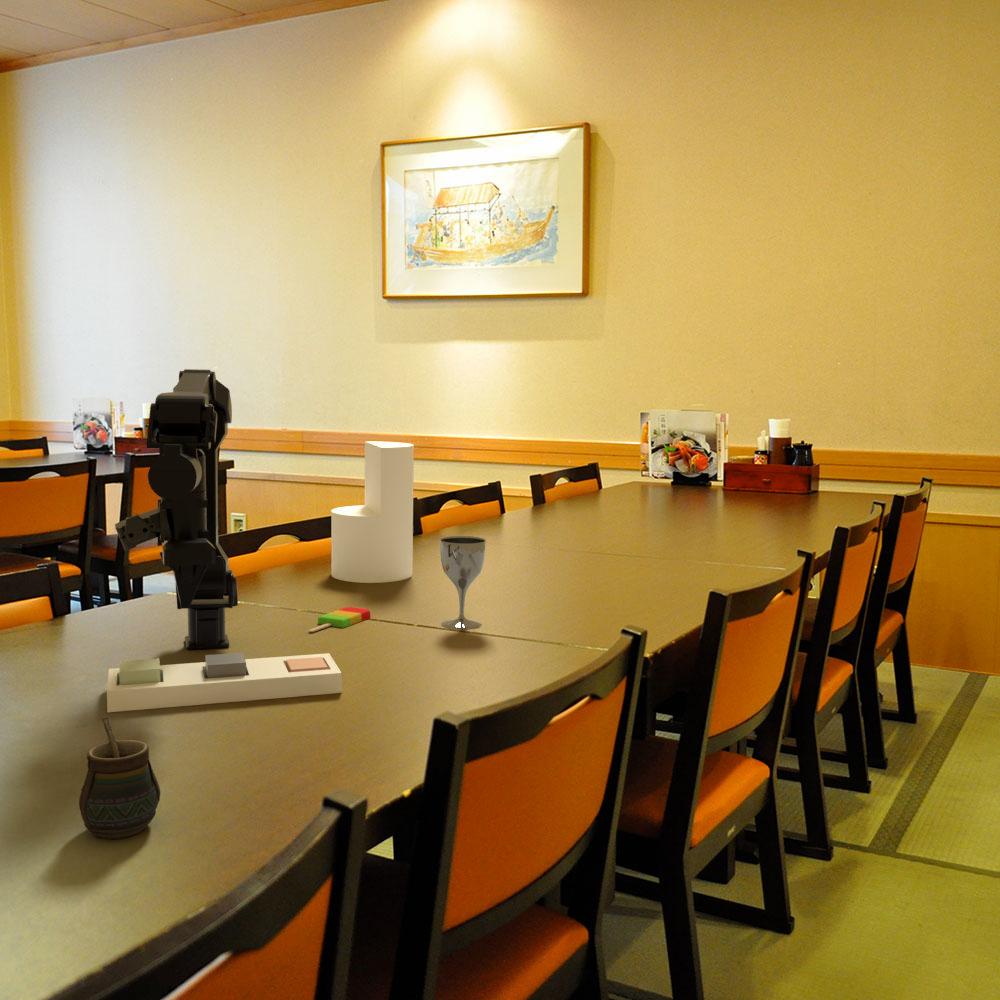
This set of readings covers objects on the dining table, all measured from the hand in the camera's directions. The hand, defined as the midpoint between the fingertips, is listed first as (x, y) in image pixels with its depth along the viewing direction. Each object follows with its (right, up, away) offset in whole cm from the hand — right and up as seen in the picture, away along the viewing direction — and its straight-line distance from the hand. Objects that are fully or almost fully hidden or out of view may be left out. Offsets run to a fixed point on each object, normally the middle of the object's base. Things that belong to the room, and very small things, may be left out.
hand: (185, 606), depth 137 cm
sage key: (-6, -10, -1) cm, 12 cm away
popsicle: (+13, -8, +41) cm, 44 cm away
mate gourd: (+5, -18, -38) cm, 42 cm away
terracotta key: (+15, -11, +7) cm, 20 cm away
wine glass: (+35, -8, +43) cm, 56 cm away
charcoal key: (+4, -10, +3) cm, 11 cm away
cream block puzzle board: (+4, -12, +3) cm, 13 cm away
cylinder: (+14, -2, +84) cm, 85 cm away
